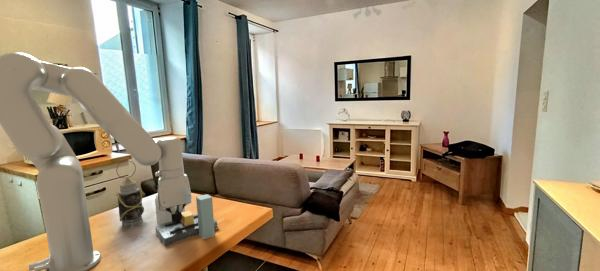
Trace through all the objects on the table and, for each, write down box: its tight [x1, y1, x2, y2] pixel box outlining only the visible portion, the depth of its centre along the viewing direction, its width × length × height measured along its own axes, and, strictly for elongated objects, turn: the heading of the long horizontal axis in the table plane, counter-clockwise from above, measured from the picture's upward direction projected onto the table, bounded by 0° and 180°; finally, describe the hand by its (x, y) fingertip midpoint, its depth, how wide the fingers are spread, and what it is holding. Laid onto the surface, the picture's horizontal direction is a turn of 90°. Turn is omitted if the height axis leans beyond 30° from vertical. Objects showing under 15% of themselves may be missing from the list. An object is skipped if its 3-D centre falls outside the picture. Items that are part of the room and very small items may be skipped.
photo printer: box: [154, 194, 186, 226], centre depth 108 cm, size 10×4×12 cm, turn 123°
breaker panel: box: [155, 213, 219, 247], centre depth 100 cm, size 18×12×3 cm, turn 130°
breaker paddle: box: [181, 210, 194, 226], centre depth 100 cm, size 3×5×4 cm, turn 40°
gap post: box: [195, 193, 216, 240], centre depth 96 cm, size 4×4×14 cm
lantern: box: [115, 159, 145, 228], centre depth 106 cm, size 9×8×25 cm
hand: (177, 222), depth 98 cm, fingers closed
